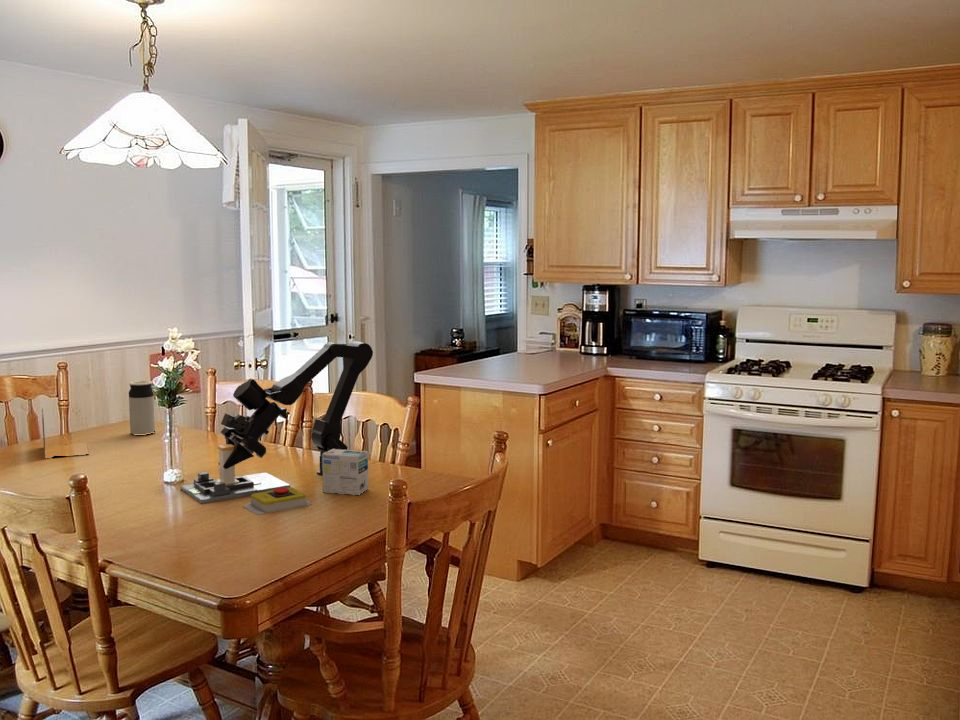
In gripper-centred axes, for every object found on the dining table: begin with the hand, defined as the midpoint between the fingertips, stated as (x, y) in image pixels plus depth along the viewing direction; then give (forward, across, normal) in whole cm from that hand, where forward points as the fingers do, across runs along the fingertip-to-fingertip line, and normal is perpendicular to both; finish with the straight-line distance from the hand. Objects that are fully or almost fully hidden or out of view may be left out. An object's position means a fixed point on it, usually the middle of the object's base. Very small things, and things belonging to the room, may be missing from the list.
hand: (222, 466), depth 224 cm
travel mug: (+2, -85, +7) cm, 85 cm away
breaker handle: (+3, 0, +5) cm, 5 cm away
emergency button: (0, +20, +10) cm, 22 cm away
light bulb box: (-14, +19, +24) cm, 33 cm away
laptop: (+22, -72, -12) cm, 76 cm away
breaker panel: (+2, 0, +7) cm, 8 cm away
